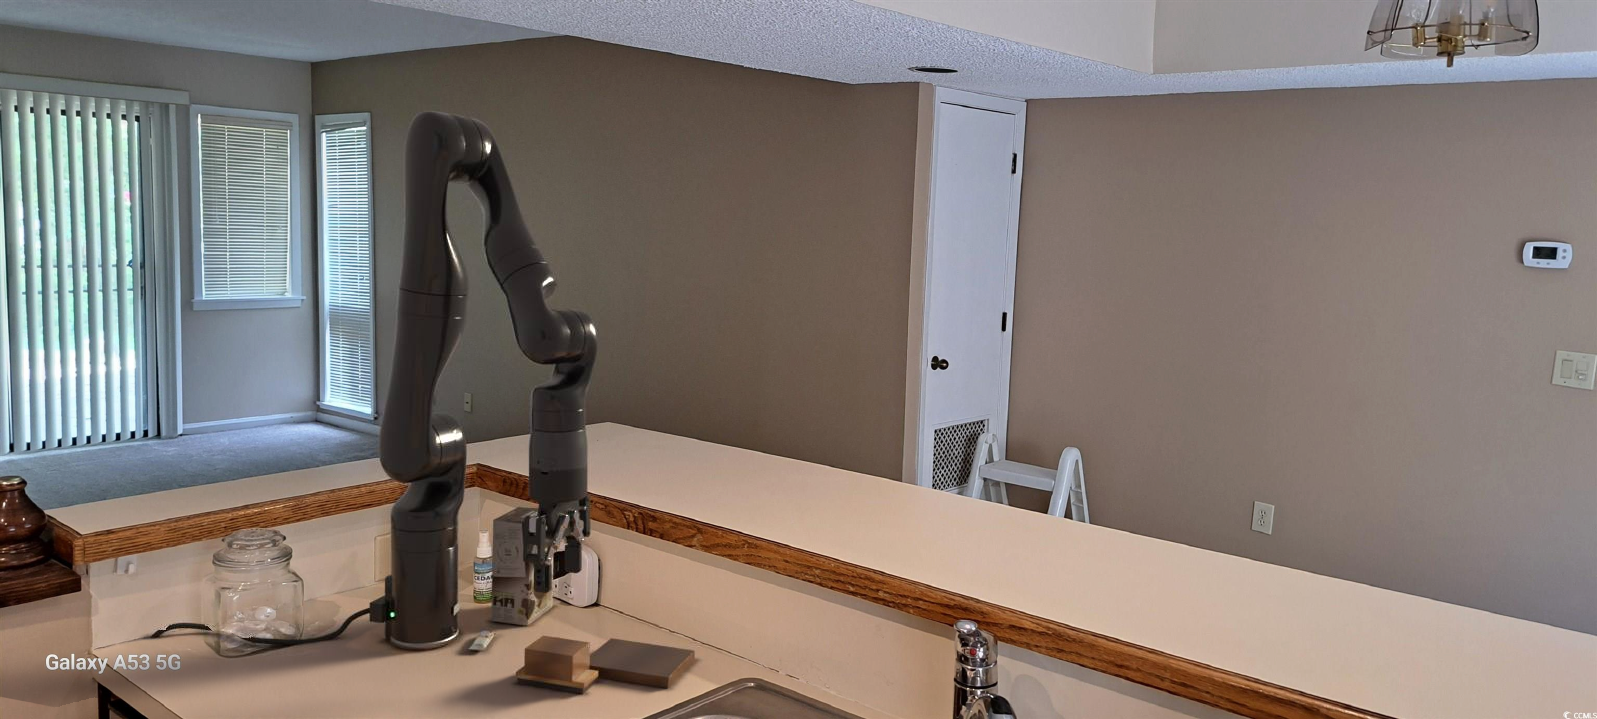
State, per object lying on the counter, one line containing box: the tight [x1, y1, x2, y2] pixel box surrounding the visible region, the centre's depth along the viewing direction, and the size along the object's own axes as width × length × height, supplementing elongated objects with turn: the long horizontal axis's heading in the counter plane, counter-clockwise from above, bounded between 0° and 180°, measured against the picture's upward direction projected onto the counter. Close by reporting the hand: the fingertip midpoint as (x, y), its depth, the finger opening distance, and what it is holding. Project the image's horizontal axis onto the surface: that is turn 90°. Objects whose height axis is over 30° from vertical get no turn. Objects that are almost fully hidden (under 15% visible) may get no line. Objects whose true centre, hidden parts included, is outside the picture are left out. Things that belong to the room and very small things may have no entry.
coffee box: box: [490, 506, 554, 627], centre depth 166 cm, size 9×6×16 cm
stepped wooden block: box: [515, 635, 599, 695], centre depth 142 cm, size 10×5×5 cm, turn 75°
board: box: [589, 637, 696, 689], centre depth 149 cm, size 13×10×2 cm
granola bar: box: [468, 630, 497, 651], centre depth 154 cm, size 7×2×1 cm, turn 1°
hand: (558, 581), depth 141 cm, fingers open, 8 cm apart
